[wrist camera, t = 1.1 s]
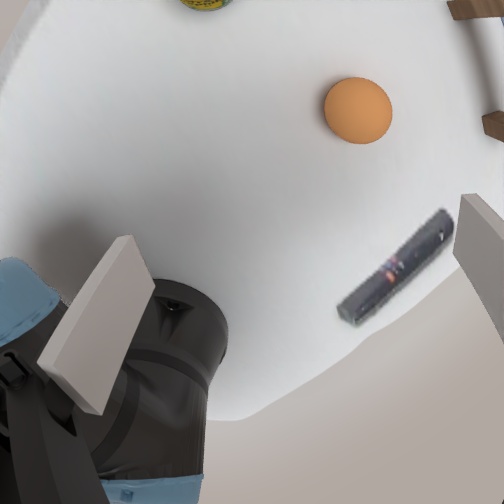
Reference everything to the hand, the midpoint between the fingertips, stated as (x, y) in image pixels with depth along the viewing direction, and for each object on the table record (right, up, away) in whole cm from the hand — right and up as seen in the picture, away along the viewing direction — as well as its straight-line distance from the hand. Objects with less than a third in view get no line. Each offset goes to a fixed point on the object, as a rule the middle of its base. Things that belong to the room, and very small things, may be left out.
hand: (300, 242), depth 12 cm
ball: (+7, +11, +11) cm, 17 cm away
